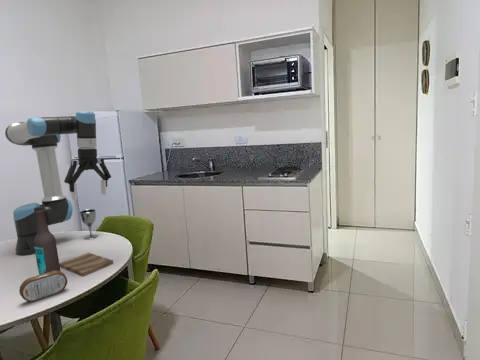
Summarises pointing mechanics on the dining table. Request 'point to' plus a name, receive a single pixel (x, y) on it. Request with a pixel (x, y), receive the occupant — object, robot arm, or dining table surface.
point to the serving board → (86, 264)
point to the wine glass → (88, 220)
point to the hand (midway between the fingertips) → (89, 196)
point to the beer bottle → (45, 245)
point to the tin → (43, 285)
